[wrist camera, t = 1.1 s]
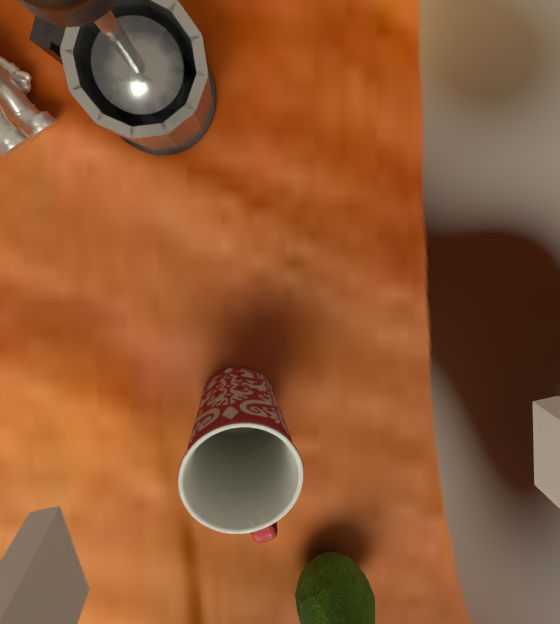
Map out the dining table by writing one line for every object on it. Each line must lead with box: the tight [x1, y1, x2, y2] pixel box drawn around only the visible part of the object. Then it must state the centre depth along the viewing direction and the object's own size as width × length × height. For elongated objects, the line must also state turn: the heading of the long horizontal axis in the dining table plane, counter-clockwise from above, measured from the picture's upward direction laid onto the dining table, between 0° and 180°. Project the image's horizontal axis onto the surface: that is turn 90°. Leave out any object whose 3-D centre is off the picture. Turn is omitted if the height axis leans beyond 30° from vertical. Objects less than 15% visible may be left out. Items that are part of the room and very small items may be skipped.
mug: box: [177, 367, 304, 543], centre depth 40 cm, size 13×9×14 cm
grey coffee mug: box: [30, 0, 216, 155], centre depth 33 cm, size 11×9×10 cm
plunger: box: [18, 0, 184, 116], centre depth 21 cm, size 6×6×17 cm
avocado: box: [295, 551, 375, 624], centre depth 46 cm, size 8×8×12 cm
